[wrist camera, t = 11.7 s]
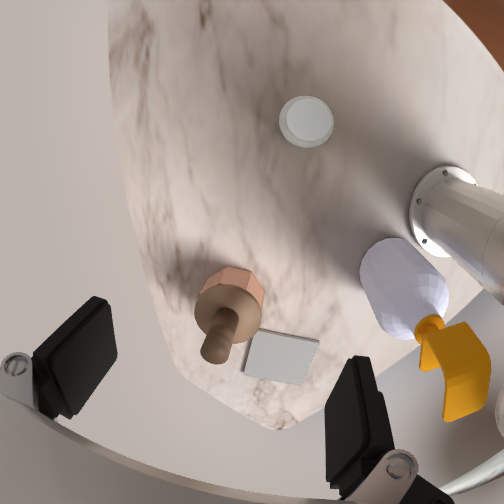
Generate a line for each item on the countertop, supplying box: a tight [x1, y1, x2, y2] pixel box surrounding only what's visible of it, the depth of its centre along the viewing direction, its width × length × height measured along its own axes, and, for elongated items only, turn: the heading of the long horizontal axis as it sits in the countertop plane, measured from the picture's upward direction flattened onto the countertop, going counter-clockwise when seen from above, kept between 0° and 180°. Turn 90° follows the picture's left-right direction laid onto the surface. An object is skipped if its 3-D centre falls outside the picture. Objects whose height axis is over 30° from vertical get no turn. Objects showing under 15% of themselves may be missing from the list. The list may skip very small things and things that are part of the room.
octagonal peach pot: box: [198, 266, 265, 310], centre depth 39 cm, size 8×8×5 cm
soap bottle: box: [359, 238, 491, 422], centre depth 26 cm, size 9×9×25 cm
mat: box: [243, 329, 319, 386], centre depth 44 cm, size 10×10×1 cm
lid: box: [194, 284, 262, 364], centre depth 33 cm, size 8×8×8 cm
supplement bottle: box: [279, 95, 334, 148], centre depth 28 cm, size 5×5×10 cm
